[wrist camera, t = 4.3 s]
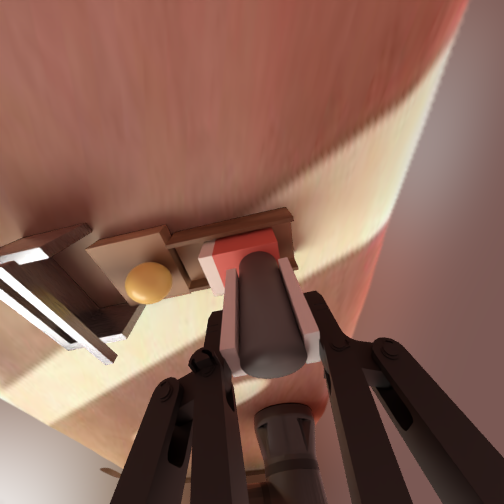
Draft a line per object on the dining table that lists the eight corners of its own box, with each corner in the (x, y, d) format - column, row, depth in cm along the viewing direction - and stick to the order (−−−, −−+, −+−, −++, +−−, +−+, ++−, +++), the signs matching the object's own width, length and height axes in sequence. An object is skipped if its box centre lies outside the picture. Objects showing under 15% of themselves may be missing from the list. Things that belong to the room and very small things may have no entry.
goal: (146, 304, 24) (113, 363, 18) (97, 314, 25) (47, 376, 18) (85, 222, 18) (1, 267, 12) (21, 237, 19) (-95, 288, 12)
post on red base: (277, 263, 20) (314, 375, 10) (217, 276, 20) (199, 396, 10) (271, 226, 17) (311, 326, 8) (203, 242, 18) (164, 355, 8)
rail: (291, 254, 22) (298, 269, 19) (195, 275, 22) (189, 292, 20) (285, 206, 19) (293, 216, 16) (174, 232, 19) (165, 245, 17)
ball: (183, 280, 20) (172, 308, 17) (149, 287, 20) (131, 317, 17) (167, 250, 18) (150, 275, 15) (129, 259, 18) (104, 285, 15)
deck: (194, 282, 23) (190, 293, 21) (138, 294, 23) (130, 305, 22) (166, 224, 19) (158, 232, 17) (98, 240, 19) (84, 249, 18)
